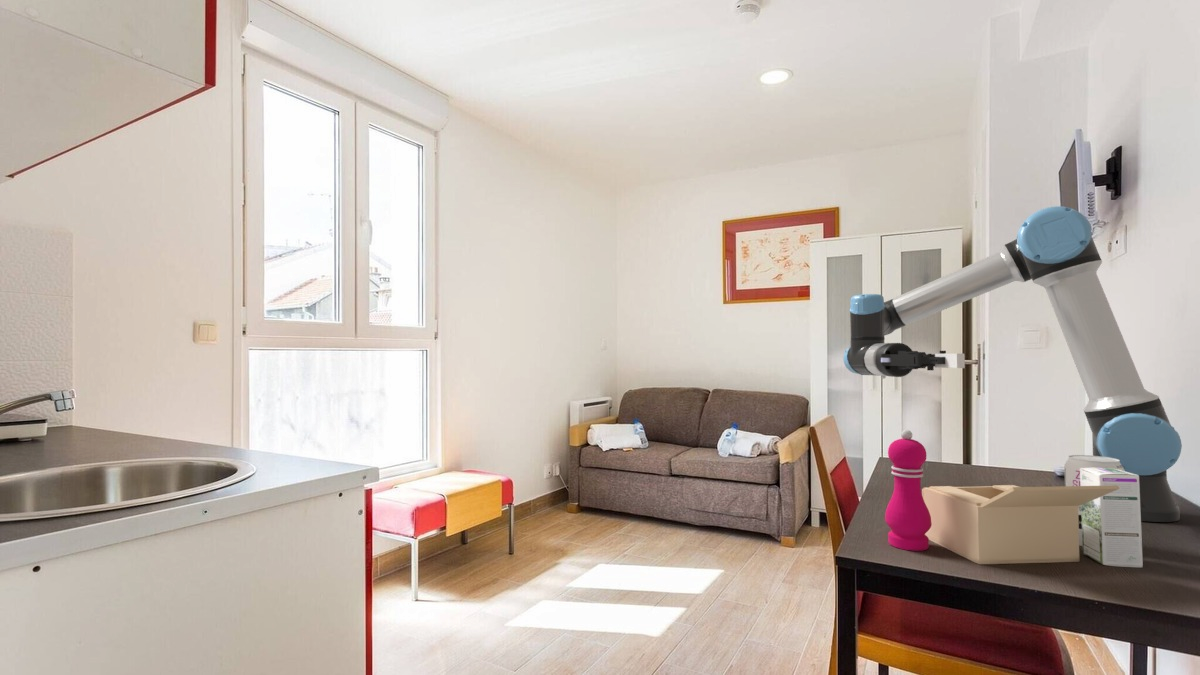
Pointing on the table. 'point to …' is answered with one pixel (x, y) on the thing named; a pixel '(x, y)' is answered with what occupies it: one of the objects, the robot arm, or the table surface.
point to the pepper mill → (907, 496)
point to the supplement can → (1086, 462)
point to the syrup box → (1112, 518)
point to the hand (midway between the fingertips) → (960, 360)
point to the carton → (1000, 527)
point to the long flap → (1048, 496)
